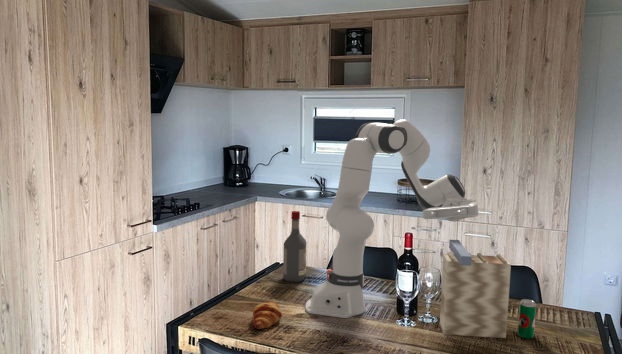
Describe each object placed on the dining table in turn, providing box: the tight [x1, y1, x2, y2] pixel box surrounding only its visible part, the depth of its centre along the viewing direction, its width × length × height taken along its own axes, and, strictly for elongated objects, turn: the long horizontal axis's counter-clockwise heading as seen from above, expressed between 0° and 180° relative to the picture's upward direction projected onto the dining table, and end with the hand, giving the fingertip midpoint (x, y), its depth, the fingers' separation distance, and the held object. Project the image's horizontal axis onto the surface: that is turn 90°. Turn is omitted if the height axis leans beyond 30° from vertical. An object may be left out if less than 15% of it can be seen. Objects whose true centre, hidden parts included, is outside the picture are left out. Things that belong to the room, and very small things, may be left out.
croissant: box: [252, 301, 283, 330], centre depth 175 cm, size 21×10×8 cm, turn 168°
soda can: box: [517, 298, 537, 340], centre depth 166 cm, size 5×5×12 cm
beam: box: [448, 239, 472, 266], centre depth 170 cm, size 3×22×3 cm, turn 174°
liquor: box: [282, 210, 307, 283], centre depth 219 cm, size 9×9×30 cm
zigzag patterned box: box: [439, 251, 512, 339], centre depth 169 cm, size 20×9×26 cm, turn 84°
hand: (446, 214), depth 182 cm, fingers open, 8 cm apart
